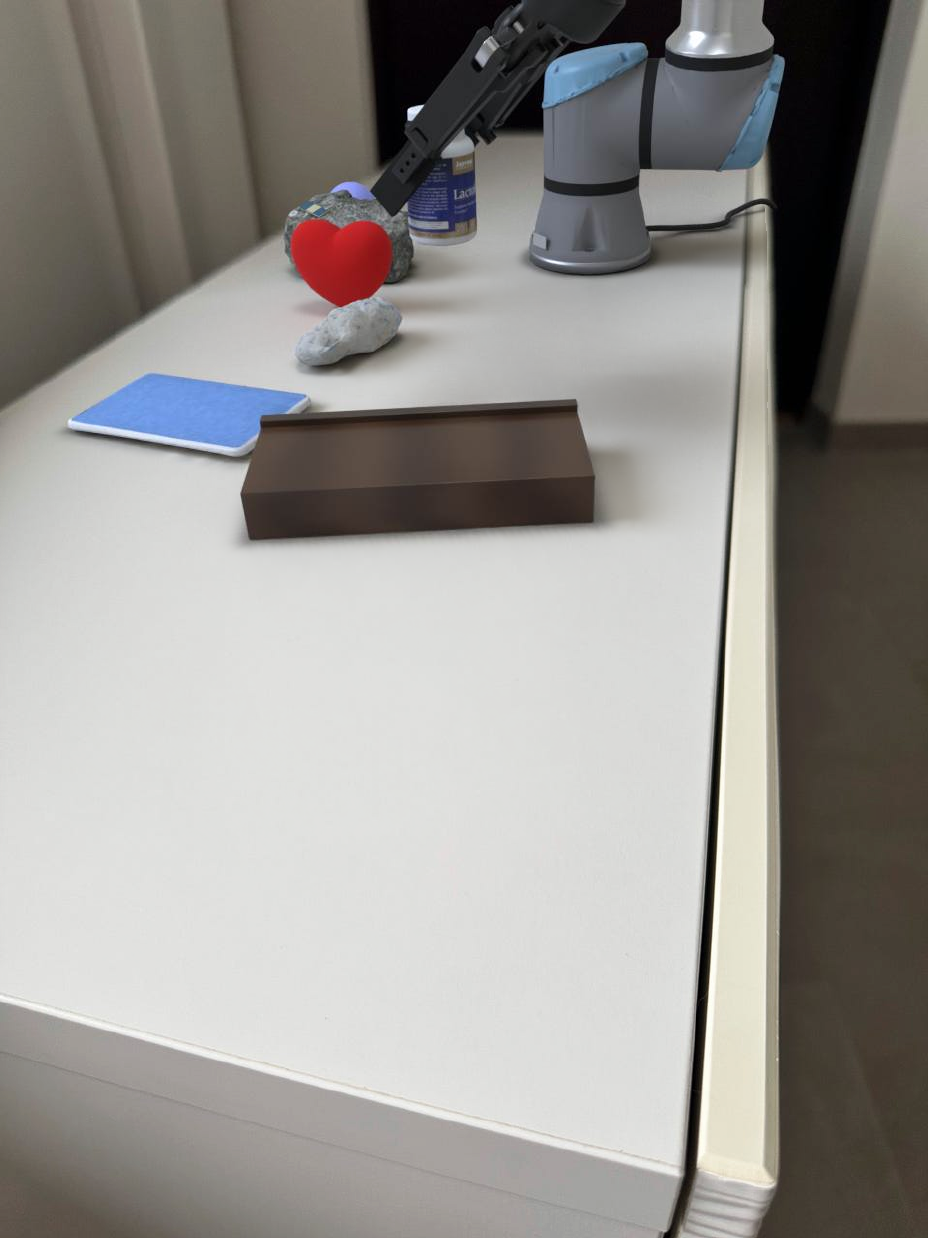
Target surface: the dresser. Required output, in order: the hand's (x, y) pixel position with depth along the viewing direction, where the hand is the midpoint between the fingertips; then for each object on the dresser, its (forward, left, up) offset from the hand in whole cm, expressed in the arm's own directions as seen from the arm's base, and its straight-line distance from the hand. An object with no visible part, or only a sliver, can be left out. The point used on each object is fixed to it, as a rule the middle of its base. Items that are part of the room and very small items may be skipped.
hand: (403, 193), depth 85 cm
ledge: (+11, +14, -19) cm, 26 cm away
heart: (-9, -26, -19) cm, 33 cm away
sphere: (-27, -51, -19) cm, 60 cm away
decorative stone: (-2, -15, -19) cm, 24 cm away
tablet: (+18, -12, -19) cm, 28 cm away
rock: (-18, -38, -19) cm, 46 cm away
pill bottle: (-1, +3, -4) cm, 5 cm away
